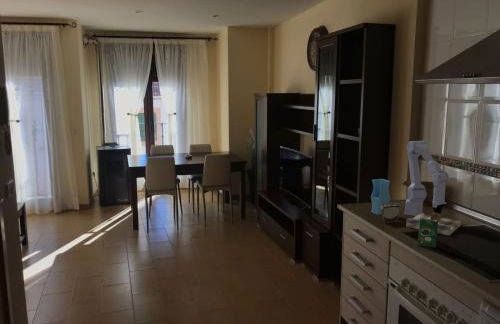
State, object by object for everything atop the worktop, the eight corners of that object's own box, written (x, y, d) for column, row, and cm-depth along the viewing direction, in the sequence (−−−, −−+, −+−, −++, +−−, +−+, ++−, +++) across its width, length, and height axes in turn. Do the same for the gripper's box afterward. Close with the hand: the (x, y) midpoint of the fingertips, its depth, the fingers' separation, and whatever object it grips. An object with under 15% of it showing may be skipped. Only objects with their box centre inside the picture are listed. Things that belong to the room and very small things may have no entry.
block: (430, 220, 230) (430, 213, 229) (432, 218, 233) (433, 212, 232) (438, 222, 227) (438, 215, 226) (440, 220, 230) (440, 213, 230)
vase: (370, 211, 256) (371, 179, 253) (380, 210, 259) (382, 178, 256) (378, 215, 249) (380, 182, 246) (389, 213, 252) (391, 181, 249)
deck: (406, 226, 227) (406, 218, 226) (419, 217, 244) (420, 210, 243) (449, 235, 213) (450, 227, 212) (460, 225, 230) (461, 217, 229)
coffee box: (436, 246, 198) (438, 219, 196) (436, 248, 195) (438, 221, 193) (417, 244, 201) (419, 217, 199) (417, 246, 198) (419, 219, 196)
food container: (392, 218, 243) (393, 201, 241) (399, 221, 237) (400, 204, 235) (374, 220, 238) (375, 203, 237) (381, 223, 233) (382, 206, 231)
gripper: (443, 197, 222) (441, 221, 224) (450, 192, 233) (448, 215, 235) (429, 195, 227) (427, 219, 229) (437, 190, 238) (435, 213, 240)
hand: (437, 217), depth 232 cm, fingers closed
